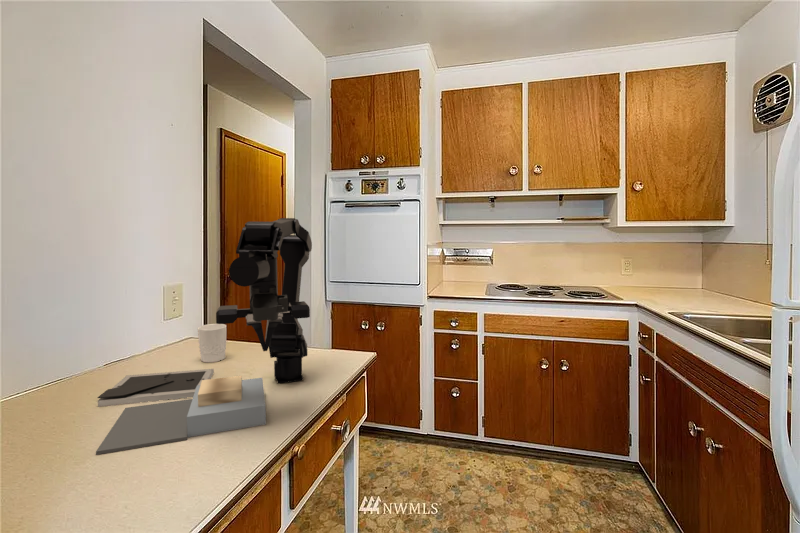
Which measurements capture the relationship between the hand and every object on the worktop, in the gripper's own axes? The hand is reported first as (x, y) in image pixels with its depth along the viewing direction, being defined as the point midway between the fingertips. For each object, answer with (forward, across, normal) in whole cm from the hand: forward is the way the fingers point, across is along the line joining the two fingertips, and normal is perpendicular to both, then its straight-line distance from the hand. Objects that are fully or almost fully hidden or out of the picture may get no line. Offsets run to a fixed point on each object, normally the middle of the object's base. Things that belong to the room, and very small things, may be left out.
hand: (265, 350), depth 85 cm
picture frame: (+14, -24, +20) cm, 34 cm away
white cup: (+13, -14, +40) cm, 44 cm away
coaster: (+9, -9, 0) cm, 13 cm away
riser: (+13, -8, 0) cm, 15 cm away
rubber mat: (+13, -22, 0) cm, 25 cm away
